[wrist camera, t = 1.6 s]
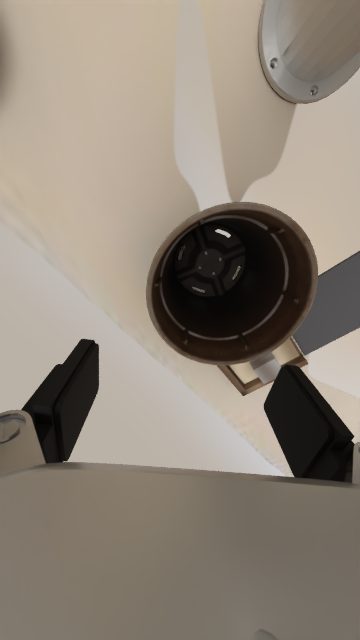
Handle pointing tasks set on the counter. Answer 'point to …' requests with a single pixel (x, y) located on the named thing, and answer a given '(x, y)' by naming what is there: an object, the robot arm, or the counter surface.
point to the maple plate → (279, 356)
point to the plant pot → (232, 284)
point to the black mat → (332, 306)
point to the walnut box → (257, 383)
